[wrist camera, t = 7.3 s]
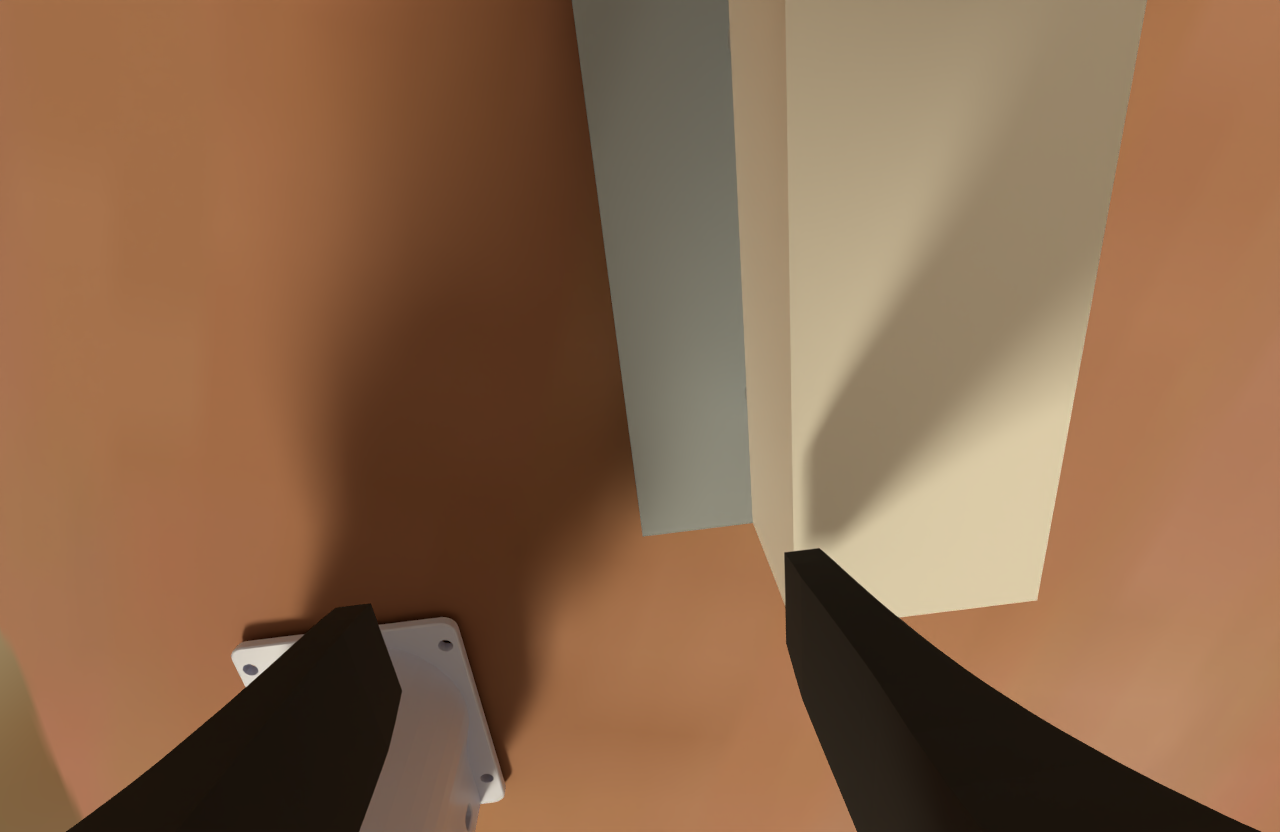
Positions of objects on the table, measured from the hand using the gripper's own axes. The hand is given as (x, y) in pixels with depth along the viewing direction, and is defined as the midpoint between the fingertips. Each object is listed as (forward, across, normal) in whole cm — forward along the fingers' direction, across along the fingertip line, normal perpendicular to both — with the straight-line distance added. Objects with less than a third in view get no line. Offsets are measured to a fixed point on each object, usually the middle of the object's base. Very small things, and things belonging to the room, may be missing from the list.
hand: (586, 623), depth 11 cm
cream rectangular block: (+5, -6, -5) cm, 10 cm away
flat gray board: (+9, -6, -5) cm, 12 cm away
